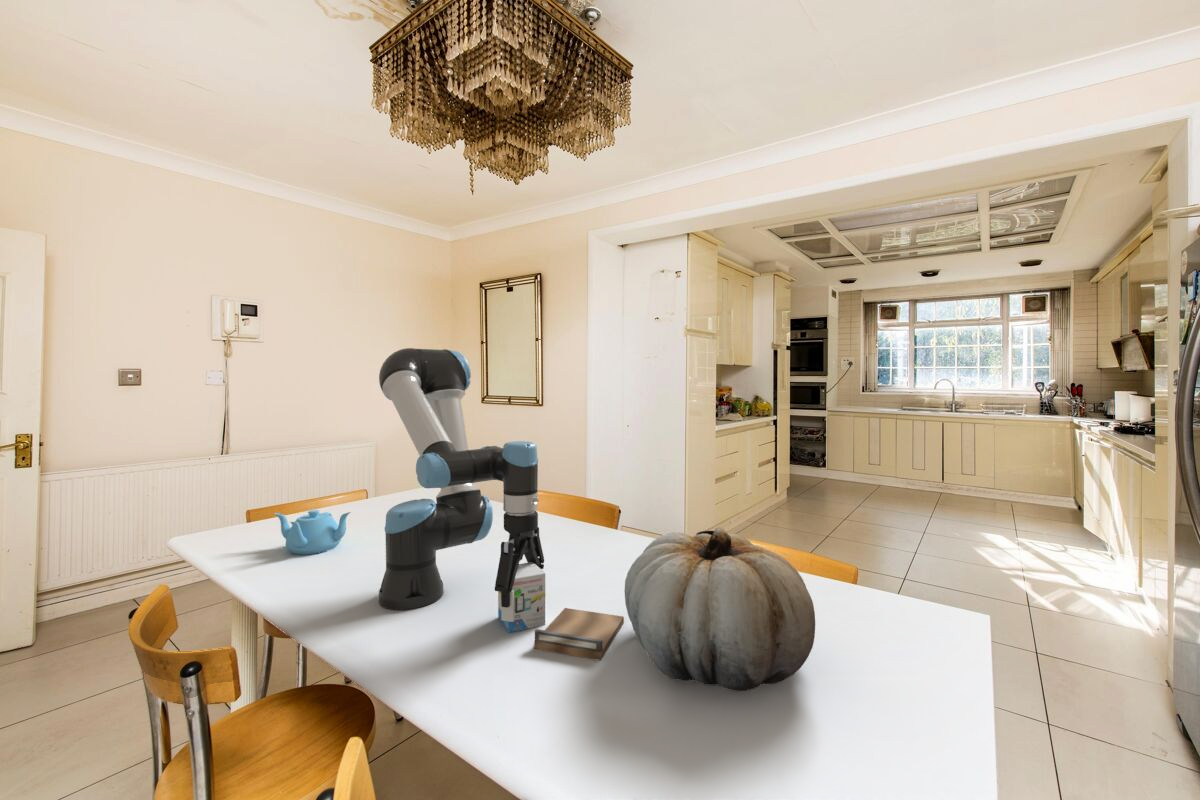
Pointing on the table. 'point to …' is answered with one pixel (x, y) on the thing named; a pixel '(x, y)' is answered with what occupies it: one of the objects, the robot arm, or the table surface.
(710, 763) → the table surface
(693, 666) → the pumpkin
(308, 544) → the teapot
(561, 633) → the brown flat block
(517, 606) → the ink box
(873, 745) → the table surface
